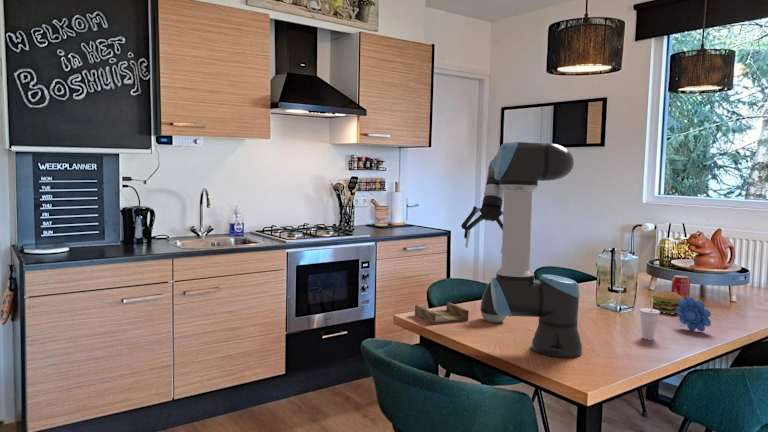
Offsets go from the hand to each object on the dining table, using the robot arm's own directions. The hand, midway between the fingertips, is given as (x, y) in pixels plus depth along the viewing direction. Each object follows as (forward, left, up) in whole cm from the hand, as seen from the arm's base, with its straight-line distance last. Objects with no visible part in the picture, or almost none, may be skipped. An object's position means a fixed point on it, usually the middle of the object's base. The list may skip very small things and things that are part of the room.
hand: (484, 249), depth 216 cm
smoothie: (-45, -37, -26) cm, 64 cm away
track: (+2, +17, -26) cm, 31 cm away
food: (-20, -78, -26) cm, 85 cm away
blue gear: (-44, -60, -26) cm, 79 cm away
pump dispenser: (-8, 0, -26) cm, 27 cm away
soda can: (-12, -95, -26) cm, 100 cm away
